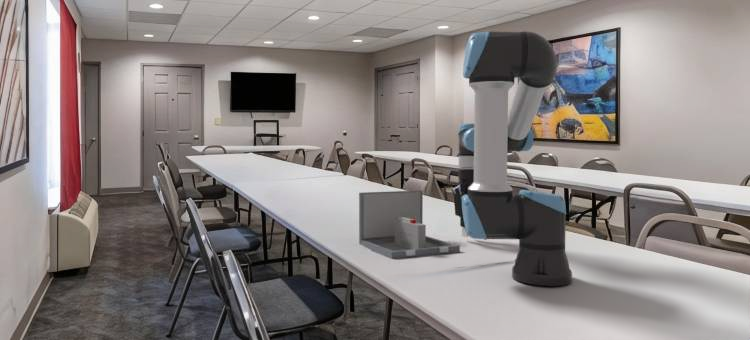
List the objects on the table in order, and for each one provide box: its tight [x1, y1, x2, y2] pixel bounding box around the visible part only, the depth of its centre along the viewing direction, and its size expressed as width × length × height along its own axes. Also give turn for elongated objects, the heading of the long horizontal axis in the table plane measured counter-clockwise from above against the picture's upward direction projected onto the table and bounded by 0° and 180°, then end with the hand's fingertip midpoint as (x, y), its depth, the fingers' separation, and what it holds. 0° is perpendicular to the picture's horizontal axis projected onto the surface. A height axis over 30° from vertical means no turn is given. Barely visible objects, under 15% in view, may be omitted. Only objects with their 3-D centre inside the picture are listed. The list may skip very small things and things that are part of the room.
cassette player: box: [394, 217, 427, 250], centre depth 166 cm, size 16×3×10 cm, turn 26°
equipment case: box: [358, 189, 461, 260], centre depth 167 cm, size 24×24×18 cm
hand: (468, 235), depth 177 cm, fingers open, 3 cm apart
